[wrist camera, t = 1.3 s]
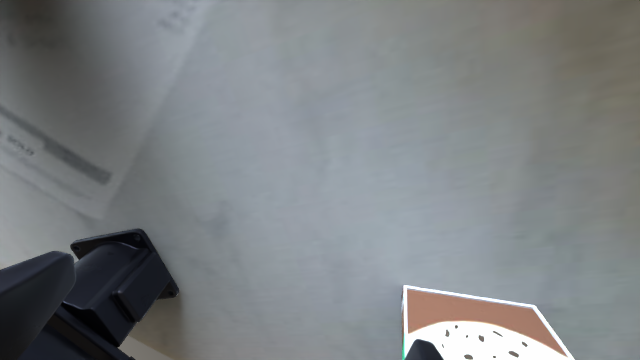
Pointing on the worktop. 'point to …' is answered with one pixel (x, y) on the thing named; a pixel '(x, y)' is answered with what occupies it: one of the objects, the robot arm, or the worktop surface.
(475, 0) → the worktop surface
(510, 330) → the food container
